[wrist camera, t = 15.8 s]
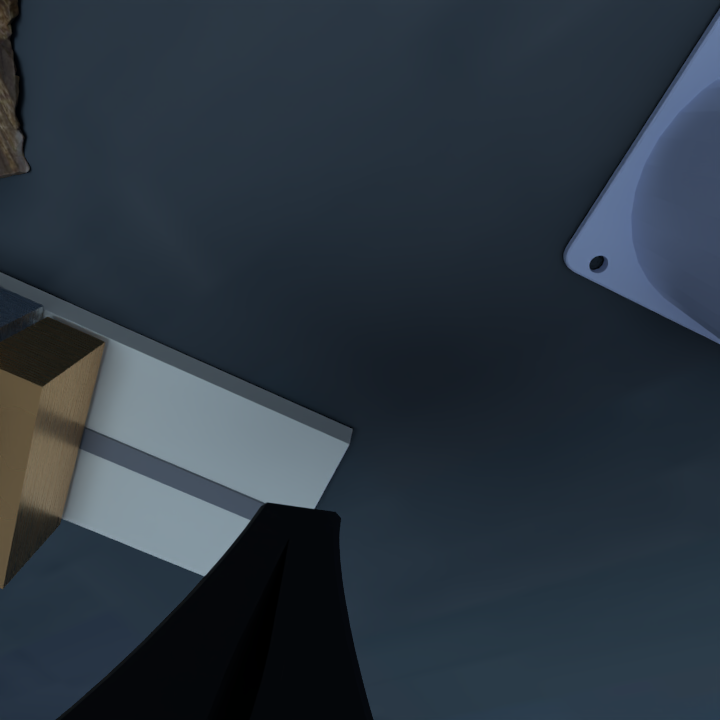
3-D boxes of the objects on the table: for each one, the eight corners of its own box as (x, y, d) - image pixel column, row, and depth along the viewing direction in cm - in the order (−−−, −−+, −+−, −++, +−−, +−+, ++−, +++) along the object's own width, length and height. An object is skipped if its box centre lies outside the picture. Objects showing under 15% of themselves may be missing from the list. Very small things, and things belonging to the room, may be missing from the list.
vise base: (352, 429, 19) (334, 512, 15) (270, 581, 23) (238, 680, 19) (-129, 214, 18) (-292, 244, 14) (-132, 417, 21) (-261, 486, 17)
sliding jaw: (105, 341, 17) (42, 386, 14) (59, 524, 21) (2, 588, 18) (38, 312, 17) (-39, 352, 14) (5, 502, 21) (-62, 563, 18)
